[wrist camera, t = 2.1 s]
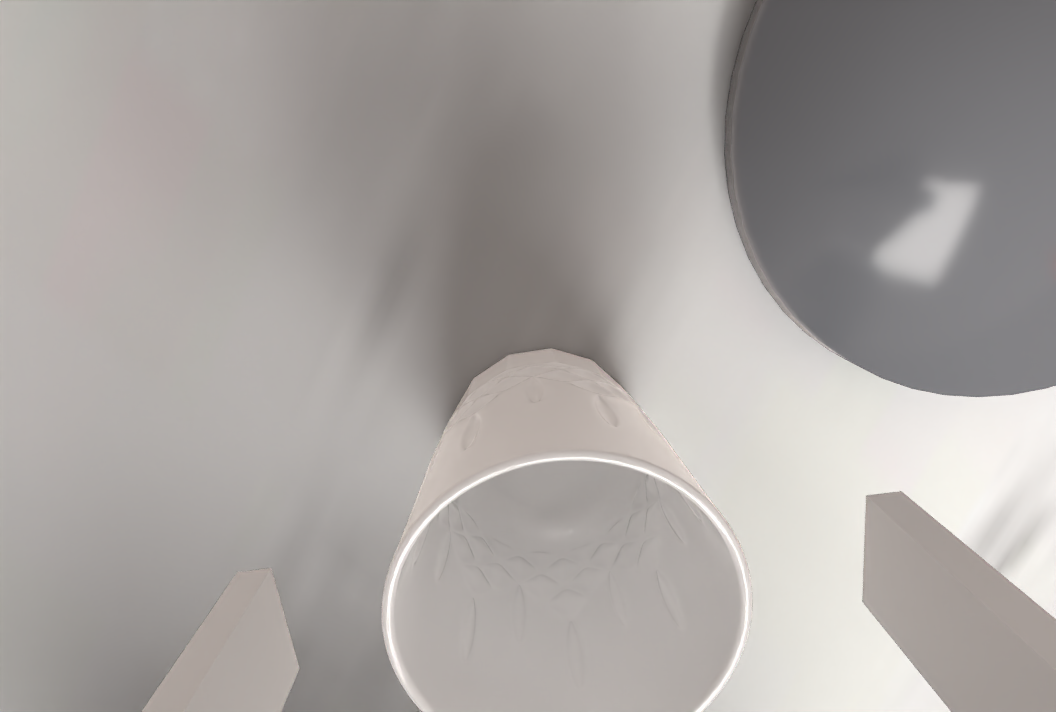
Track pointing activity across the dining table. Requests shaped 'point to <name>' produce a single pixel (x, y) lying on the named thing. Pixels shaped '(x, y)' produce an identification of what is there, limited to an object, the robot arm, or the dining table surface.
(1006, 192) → the slate plate
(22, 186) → the dining table surface
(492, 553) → the white cup
